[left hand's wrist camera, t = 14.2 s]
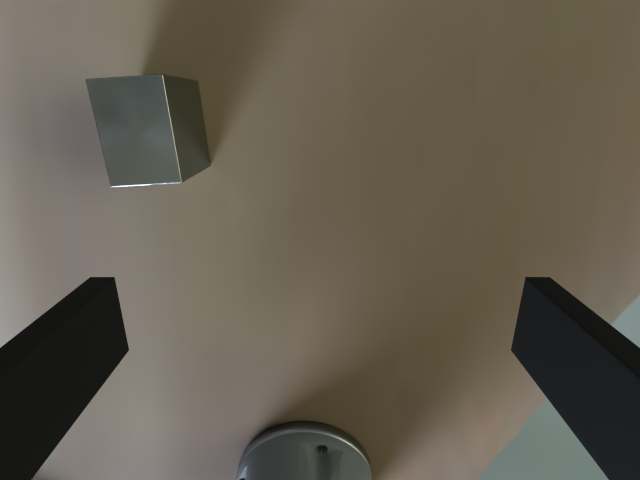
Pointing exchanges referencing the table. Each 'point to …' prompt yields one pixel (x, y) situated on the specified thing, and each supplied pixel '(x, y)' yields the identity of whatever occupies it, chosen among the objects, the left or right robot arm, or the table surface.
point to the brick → (149, 128)
